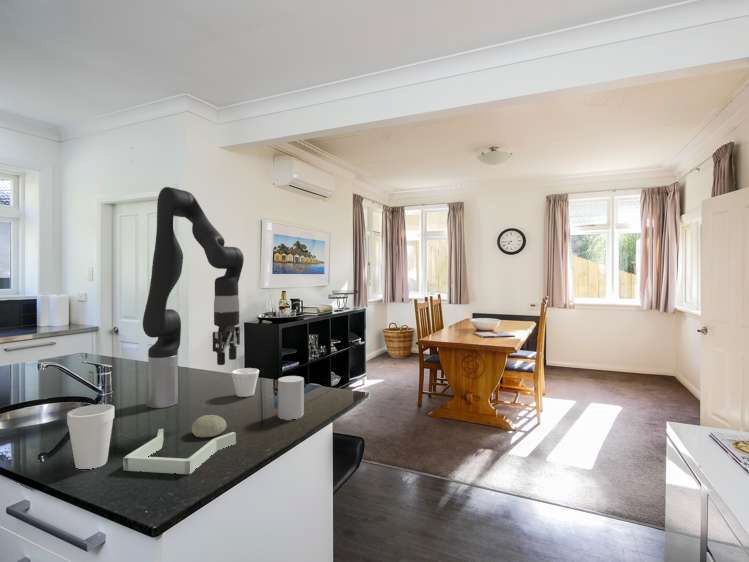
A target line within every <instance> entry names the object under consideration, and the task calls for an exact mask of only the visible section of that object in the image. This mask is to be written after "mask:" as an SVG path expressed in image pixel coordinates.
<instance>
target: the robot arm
mask: <svg viewBox="0 0 749 562" xmlns="http://www.w3.org/2000/svg"><path fill="white" fill-rule="evenodd" d="M156 203H157V204H156V232H155V234H156V236H155V243H154V244H155V245H154V251H153V258H152V265H151V266H152V267H151V276H150V284H149V288H148V289H149V290H148V296H147V301H146V305H145V309H144V313H143V317H142V318H143V319H142V330H143V331H144V333H145V335H146V336H147V337H149V338H152V339H153V338H157V340H156V341H155V343H154V344H152V346H150V347H149V348H148V352H147V360H148V363H147V364H148V365H147V367H148V372H147V373H148V376H147V377H146V379H145V407H149V408H151V409H152V408H153V409H162V408H163V409H164V408H169V407H172V406H175V405H177V404H178V403H179V402H178V401H179V395H178V393H179V388H178V386H179V377H178V375H179V372H178V371H179V368H178V366H179V364H178V363H179V362H178V361H179V360H178V358H179V354H178V353H179V351H178V350H179V348H180V345H181V335H182V334H181V333H182V320H181V316H180V315H179V312H177V310H175V309H173V308H172V309H171V308H167V303H168V299H169V296H170V295H171V292H172V290H173V289H174V288H175V286H176V285H177V283H178V281H179V279H180V278H181V275H182V272H183V271H182V270H183V265H184V264H183V262H184V253H183V251H182V250H183V249H182V247H181V245H180V242H179V240H178V239H177V237H176V236H177V235H176V234H175V229H174V219H175V218H174V217H178V218H185V219H187V220H188V221H189V222H190V223H191V224H192V226H191V231H192V232H191V233H192V235H193V238H195V240H196V243H198V245H200V246H201V247H202V249H203V250H204V254H205V257H206V259H207V261H208V263H209V265H211V266H212V268H215V269H216V270H217V269H218V270H221V269H222V270H225V273H224V275H222V276H218V277H216V278H215V279H214V301H213V325H214V326H216V327H218V329H217V331H213V332H212V352H214V353H216V364H217V365H218V366H224V365H226V348H227V347H229V348H228V360H230V361H231V360H232V361H234V360H236V359H237V348H238V347H239V345H240V343H241V337H240V336H241V329H240V326H238V325H239V324H240V299H239V281H240V278H241V273H242V270H243V266H244V259H245V258H244V253H243V252H242V250H241V249H240V248H239V247H235V246H226V245H225V242H226V241H225V239H224V237H223V236H222V234H221V233H220V232H219V231H218V230H217V229H216V228H215V226H214V225H213V224H212V223H211V221H210V220H209V219H208V217H207V216H206V213H205V212H204V211H203V209H202V207H201V206H200V203H199V202H198V200H197V198H196V197H195V196H194V195H193V193H191V192H189V191H187V190H183V189H178V188H174V187H172V186H164V187H162V189H160V191H159V193H158V197H157V202H156Z"/></svg>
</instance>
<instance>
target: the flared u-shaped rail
mask: <svg viewBox="0 0 749 562" xmlns="http://www.w3.org/2000/svg"><path fill="white" fill-rule="evenodd" d="M156 435H157V436H156V437H155V438H153V439H150V440H149V441H148V442H146V443H144V444H143V445H141V446H140V447H138V448H136V449H135V450H133V451H132V452H130V453H128V454H127V455H125V456H124V457H122V469H123V471H125V472H126V471H127V472H140V471H141V473H143V472H144V473H157V474H158V473H161V474H174V473H176V474H178V475H191V474H192V473H193V472H195V471H196V470H197V469H198V468H199V467H200V466H202V465H203V464H204V463H205V462H206V461H207V460H208V459H210V458H211V457H212V456H213V455H214V454H215V453H216V452H218V450H219V451H221V450H224V449H227V448H228V446H229V447H232V446H233V445H236V444H237V433H236V432H235V431H232V432H229V433H226V434H222V435H221V436H220V435H219V436H216V437H215V438H213V439H211V440H210V441H209V442H208V441H207V443H206V444H205V445H203V446H202V447H201V448H200V449H198V450H197V451H195V453H193V454H192V455H191V456H190V457H188V458H178V457H160V456H152V455H154V454H155V453H157V452H158V451H160V450H161V449H162V448H163V443H164V428H159V429H158V430H157V434H156ZM231 445H232V446H231ZM226 447H227V448H226ZM223 448H224V449H223ZM156 451H157V452H156ZM153 453H154V454H153ZM151 454H152V455H151ZM150 455H151V456H150ZM211 455H212V456H211ZM148 456H149V457H148ZM210 456H211V457H210ZM202 463H203V464H202ZM196 468H197V469H196ZM195 469H196V470H195ZM176 474H175V475H176Z"/></svg>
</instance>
